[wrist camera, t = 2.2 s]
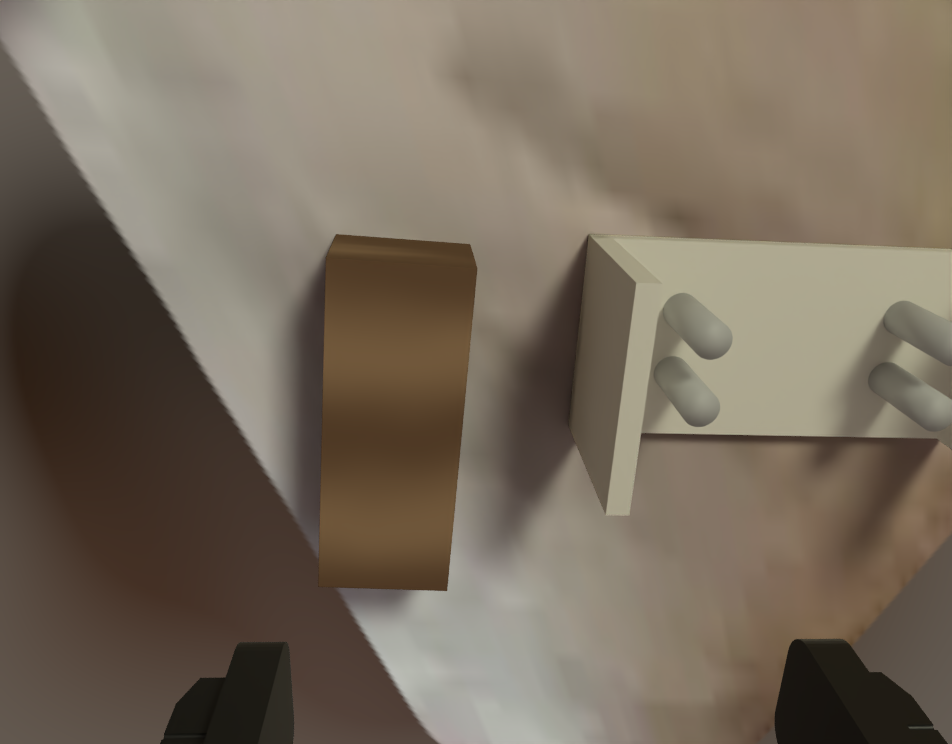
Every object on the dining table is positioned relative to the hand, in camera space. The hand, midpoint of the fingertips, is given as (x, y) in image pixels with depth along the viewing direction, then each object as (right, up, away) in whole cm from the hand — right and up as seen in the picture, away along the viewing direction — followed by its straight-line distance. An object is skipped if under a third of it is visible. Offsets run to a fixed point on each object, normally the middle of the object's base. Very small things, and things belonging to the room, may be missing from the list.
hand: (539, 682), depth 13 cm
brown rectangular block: (-4, +4, +20) cm, 21 cm away
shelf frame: (+11, +6, +20) cm, 24 cm away
